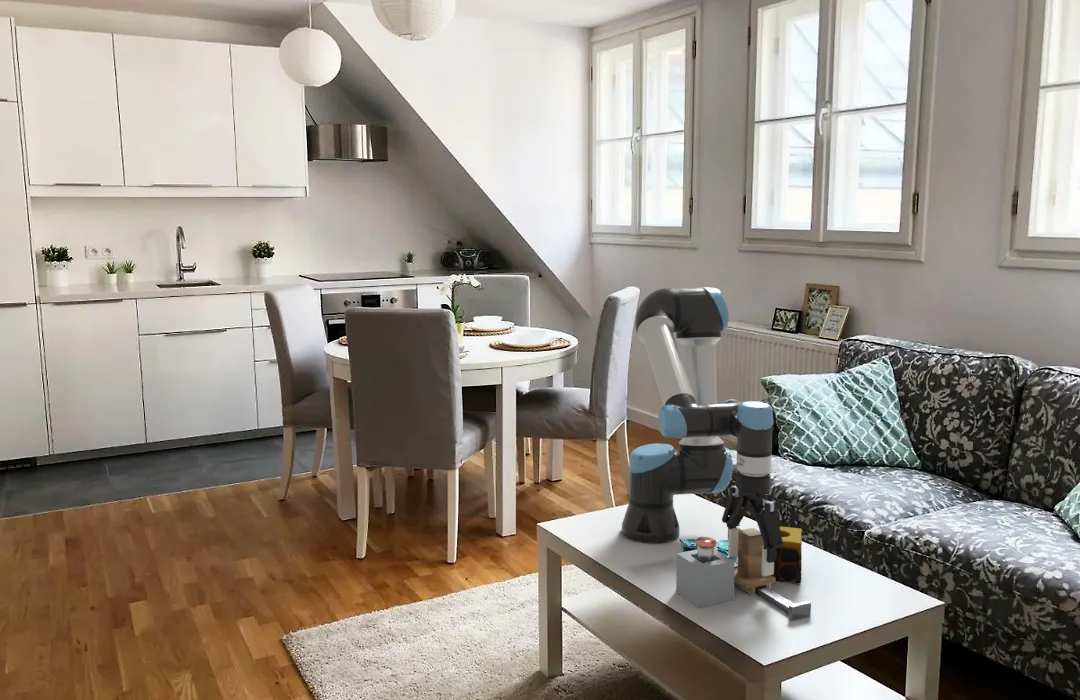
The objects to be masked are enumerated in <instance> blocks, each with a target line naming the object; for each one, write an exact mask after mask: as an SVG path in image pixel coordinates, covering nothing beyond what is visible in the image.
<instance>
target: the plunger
mask: <svg viewBox="0 0 1080 700" xmlns="http://www.w3.org/2000/svg"><path fill="white" fill-rule="evenodd" d="M695 545H696V548H697V549H696V550H697V560H698V561H700V562H701V563H705V562H710V561H714V549H715V547H716V545H717V540H716V539H715V538H713V537H709V536H701V537H696V538H695Z"/></svg>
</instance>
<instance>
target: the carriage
mask: <svg viewBox="0 0 1080 700" xmlns="http://www.w3.org/2000/svg"><path fill="white" fill-rule="evenodd" d="M762 547H764V541H763V538H762V535H761V533H760V530H758V529H756V528H755V527H749V528H745V529H740V530H739V534H738V555H737V564H738V566H737V568H736V569H734V586H735V585H736V586H737V587H739V588H740V589H742V590H743V591H744V592H747V593H748V594H749V595H751V596H752V595H756V594H755V587H758V586H763V585H764V586H766V587H767V588H769V589H771V584H775V583H776V582H777V581H776V578H775V577H774V576H772V575H769V576H762V575H761V574H762Z"/></svg>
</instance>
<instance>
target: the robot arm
mask: <svg viewBox="0 0 1080 700" xmlns="http://www.w3.org/2000/svg"><path fill="white" fill-rule="evenodd" d="M729 315H730V314H729V308H728V304H727V301H726V298H725V296H724V294H723V292H721V290H719V289H718V288H715V287H706V286H705V287H703V286H701V287H673V288H670V287H664V288H659V289H657V290H654V291H652V292H651V293H649V294H648V295H647V296H646V297H645V298H644V299H643V300H642V301H641V303H640V304H639V307H638V309H637V312H636V315H635V320H634V321H635V322H634V323H635V324H634V325H635V331H636V335H637V338H638V339H639V341H640V342H642V343H643V344H644V347H645V351H646V353H647V357H648V359H649V362H650V366H651V369H652V371H653V372H652V373H653V375H654V378H655V383H656V386H657V388H658V391H659V394H660V399H661V401H662V404H663V405H662V406H661V407H660V408H659V410H658V414H657V415H658V417H657V418H658V419H657V420H658V429H659V432H660V434H661V435H662V436H663V437H664V438H667V439H668V438H669V439H671V438H672V439H681V440H679V441H678V443H679V444H678V447H679V448H678V449H675V447H674V446H673V445H672V444H669V443H657V442H656V443H649V444H644V445H641V446H637V447H636V448H635V449H633V450H632V451H631V452H630V454H629V462H628V467H627V469H628V505H627V507H626V511H625V514H624V517H623V520H622V523H621V534H622V536H624V537H625V538H627V539H628V540H630V541H633V542H638V543H644V544H662V543H668V542H673V541H675V540H676V539H678V538H679V536H680V524H679V520H678V516H677V513H676V511H675V508H674V496H675V495H676V496H677V495H691V494H694V495H695V494H707V495H710V494H712V493H713V494H715V493H721V492H724V491H725V490H726V489H727V488H728V486H729V485H730V482H731V479H732V474H733V466H734V465H733V458H732V456H733V455H732V453H731V451H730V449H729V448H727V447H726V446H725V443H724V440H722V438H720V437H726V436H727V437H728V436H732V437H736V468H735V469H736V470H737V472H735V485H734V486H733V485H732V486H730V487H729V492H728V493H729V494H728V495H729V496H728V498H727V501H726V505H725V508H724V512H723V515H722V517H721V522H722V523H723V524H724V523H725V524H726V527H727V541H728V545H727V546H728V547H727V550H728V552H727V557H729V558H731V557H736V556H737V557H738V534H739V530H742V529H741V525H740V524H741V522H742V520H743V519H744V517H745V515H746V513H747V512H748V513H749V514H751V515H752V517H753V519H754V520H755V521H756V523H757V527H758V529H759V530H758V531H760V533H761V535H762V538H763V541H764V544H765V546H764V547H762V574H761V575H762V576H769V575H773V574H774V562H775V556H776V548H780V547H783V541H782V536H781V531H780V527H781V526H780V522H779V518H778V508H777V507H778V504H777V502H776V501H769V500H768V498H767V493H768V492H769V491H770V490H771V477H772V476H771V473H770V472H772V456H773V455H772V448H773V444H772V443H773V425H774V414H773V413H774V412H773V407H772V405H770V403H767V402H762V401H757V400H755V401H754V400H753V401H752V400H751V401H741V400H738V399H733V398H731V399H725V400H724V401H722V402H721V403H718V400H717V399H718V398H717V397H718V396H717V367H716V366H717V360H716V359H717V358H716V356H717V355H716V344H717V343H718V342H720V340H721V339H722V333H723V332H725V331H726V330H727V329H728V327H729V321H730V316H729ZM674 333H675V336H674ZM675 338H676V339H675ZM676 340H677V342H679V344H680V345H681V346H682V357H681V354H680V351H679V348H678V345H677V342H676ZM769 541H770V543H769Z"/></svg>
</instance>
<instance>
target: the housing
mask: <svg viewBox="0 0 1080 700" xmlns="http://www.w3.org/2000/svg"><path fill="white" fill-rule="evenodd" d="M735 564H736V563H735V560H733V559H732V558H731V557H729V556H728V555H725V554H723V553H721V552H720V551H718V550H717V549H715V548H714V561H710V562H705V563H701V562H700V561H698V560H697V549H692V550H688V551H686V550H685V551H683V552H677V553H676V580H675V592H676V593H678V594H679V595H681V596H682V597H683V598H684V599H686V600H687V601H689V602H690V603H692V604H693V605H695V607H697V608H703V607H707V606H713V605H717V604H723V603H727V602H731V601H734V593H735V590H734V589H735V584H734V565H735Z"/></svg>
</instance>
